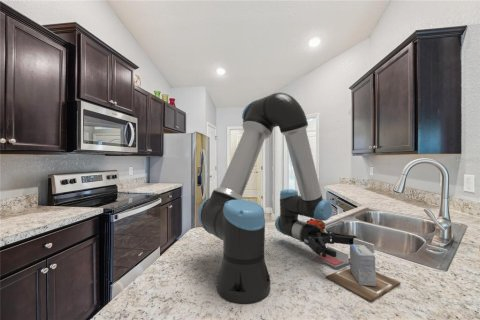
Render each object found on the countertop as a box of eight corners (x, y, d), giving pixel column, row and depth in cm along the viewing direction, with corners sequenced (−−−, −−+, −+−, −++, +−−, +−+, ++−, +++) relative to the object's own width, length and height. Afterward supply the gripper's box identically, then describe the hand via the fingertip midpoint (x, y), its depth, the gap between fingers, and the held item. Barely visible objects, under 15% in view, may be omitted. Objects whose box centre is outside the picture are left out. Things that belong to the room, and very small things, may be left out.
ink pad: (335, 270, 68) (335, 266, 68) (313, 259, 76) (313, 255, 76) (353, 263, 73) (353, 259, 73) (330, 253, 81) (330, 250, 81)
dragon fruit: (327, 237, 104) (305, 242, 102) (318, 223, 111) (297, 227, 109) (332, 226, 99) (309, 231, 97) (322, 212, 106) (300, 217, 104)
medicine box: (376, 287, 58) (376, 255, 58) (358, 285, 58) (358, 254, 59) (365, 272, 65) (364, 245, 66) (349, 271, 66) (349, 243, 66)
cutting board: (370, 302, 52) (370, 299, 52) (326, 278, 63) (326, 275, 63) (400, 284, 60) (400, 281, 60) (356, 265, 72) (356, 263, 72)
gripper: (327, 237, 87) (383, 257, 69) (282, 249, 75) (335, 277, 56) (327, 219, 87) (383, 234, 69) (282, 227, 75) (335, 249, 56)
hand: (361, 253), depth 62 cm, fingers open, 13 cm apart
